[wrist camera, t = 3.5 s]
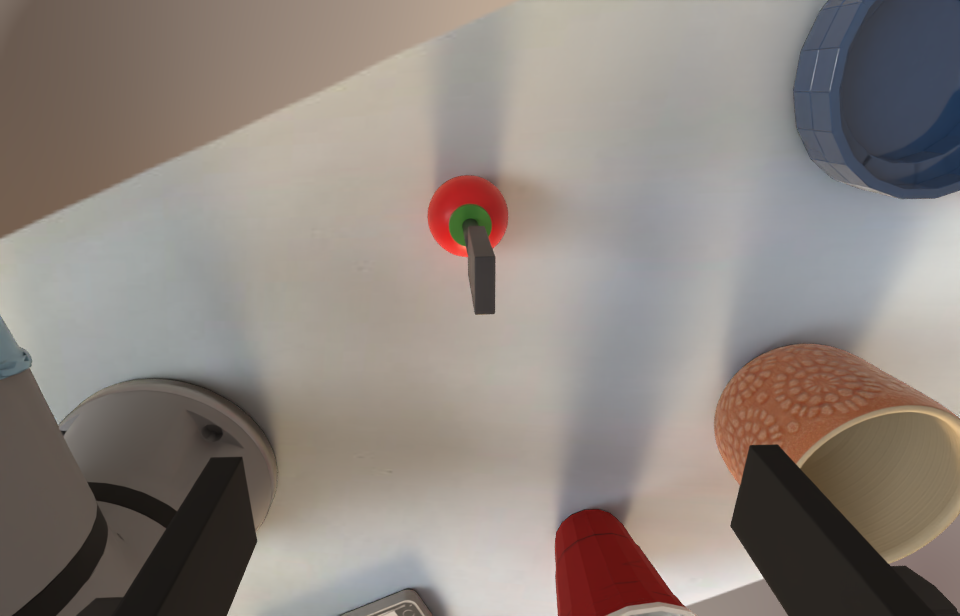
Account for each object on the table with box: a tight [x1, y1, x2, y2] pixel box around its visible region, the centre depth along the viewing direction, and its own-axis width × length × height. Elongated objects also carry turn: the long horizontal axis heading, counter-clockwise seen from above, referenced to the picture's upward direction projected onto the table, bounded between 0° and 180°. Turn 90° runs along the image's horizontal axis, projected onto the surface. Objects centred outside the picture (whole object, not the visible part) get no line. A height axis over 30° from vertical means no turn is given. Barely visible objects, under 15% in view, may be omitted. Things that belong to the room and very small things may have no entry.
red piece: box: [428, 175, 508, 315], centre depth 28 cm, size 5×5×15 cm
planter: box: [714, 344, 960, 564], centre depth 37 cm, size 12×12×11 cm
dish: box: [793, 0, 960, 199], centre depth 32 cm, size 14×14×4 cm
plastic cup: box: [555, 509, 697, 616], centre depth 41 cm, size 11×11×12 cm
